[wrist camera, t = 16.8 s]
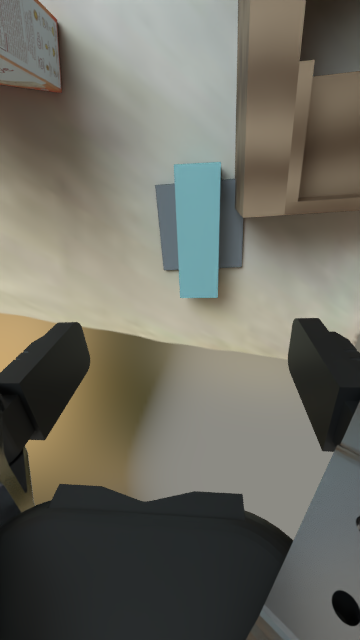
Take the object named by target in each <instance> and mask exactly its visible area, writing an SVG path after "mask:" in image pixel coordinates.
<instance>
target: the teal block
mask: <svg viewBox="0 0 360 640" xmlns="http://www.w3.org/2000/svg"><path fill="white" fill-rule="evenodd" d="M220 173H221V162H212V163H194V164H176V165H174V178H175V199H176V220H177V241H178V262H179V283H180V298H218V262H219V217H220Z"/></svg>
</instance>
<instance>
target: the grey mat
mask: <svg viewBox="0 0 360 640" xmlns="http://www.w3.org/2000/svg"><path fill="white" fill-rule="evenodd" d="M155 188H156V197H157V207H158V217H159V227H160V236H161V246H162V256H163V266H164V270H179V262H178V241H177V220H176V199H175V184H164V185H155ZM242 242H243V217H242V216H241V215H240V214H239V213H238V211H237V210H236V209H235V179H227V180H220V217H219V262H218V268H228V267H242Z"/></svg>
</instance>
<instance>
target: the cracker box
mask: <svg viewBox="0 0 360 640" xmlns="http://www.w3.org/2000/svg"><path fill="white" fill-rule="evenodd" d="M0 85H7V86H14V87H21V88H28V89H36V90H43V91H50V92H58V93H61V92H62V87H61V72H60V57H59V44H58V30H57V19H56V18H55V17H54V16H53V15H52V14H51V13H50V12H49V11H48V10H47V9H46V8H45V7H44V6H43V5H42V4H41V3H40V2H39V1H38V0H0Z"/></svg>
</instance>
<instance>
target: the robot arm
mask: <svg viewBox="0 0 360 640" xmlns="http://www.w3.org/2000/svg"><path fill="white" fill-rule="evenodd" d="M288 365H289V370H290V373H291V376H292V378H293V381H294V383H295V386H296V388H297V390H298V393H299V395H300V398H301V400H302V403H303V405H304V407H305V410H306V412H307V415H308V417H309V420H310V422H311V424H312V427H313V429H314V432H315V434H316V436H317V439H318V441H319V444H320V446H321V449H322V451H332V452H334V453H333V456H332V458H331V460H330V462H329V464H328V466H327V469H326V471H325V473H324V475H323V477H322V479H321V482H320V484H319V486H318V488H317V490H316V493H315V495H314V497H313V499H312V501H311V503H310V506H309V508H308V510H307V512H306V515H305V517H304V519H303V521H302V523H301V525H300V528H299V530H298V532H297V534H296V536H295V539H294V541H293V540H292V539H291V538H290V537H289V536H287V535H286V534H285V533H284V532H282V531H281V530H280V529H279V528H277V527H276V526H274V525H273V524H271V523H269V522H268V521H267V520H265V519H263V518H261V517H259V516H257V515H255V514H253V513H250V512H247V511H244V506H243V495H242V494H231V493H212V492H190V493H185V494H181V495H177V496H172V497H167V498H163V499H158V500H154V501H149V502H143V501H139V500H137V499H134V498H131V497H128V496H126V495H123V494H121V493H118V492H115V491H113V490H110V489H107V488H105V487H102V486H86V485H68V484H60V485H59V486H58V488H57V490H56V492H55V494H54V497H53V499H52V500H51V501H48V502H44V503H42V504H39V505H36V506H35V505H34V500H33V492H32V485H31V476H30V467H29V460H28V452H27V450H26V448H25V444H26V443H27V442H28V440H45V439H46V438H47V436H48V434H49V433H50V431H51V430H52V428H53V426H54V424H55V423H56V421H57V420H58V418H59V417H60V415H61V413H62V412H63V410H64V409H65V407H66V405H67V404H68V402H69V400H70V399H71V397H72V396H73V394H74V392H75V391H76V389H77V388H78V386H79V384H80V383H81V381H82V380H83V378H84V376H85V375H86V373H87V371H88V369H89V366H90V355H89V351H88V348H87V344H86V341H85V337H84V334H83V330H82V327H81V325H80V324H79V323H78V322H65V323H57V324H56V325H55V326H54V327H53V328H52V329H50V330H49V331H48V332H47V333H46V334H45V335H44V336H43V337H41V338H39V339H38V340H36V341H34V342H32V343H31V344H30V345H29V346H28V347H27V348H26V349H25V350H24V352H23V353H21V354H20V355H19V356H18V357H16V360H13V361H12V362H11V363H10V364H9V365H8V366H7V367H6V368H5V369H4V370H3V371H2V372H1V373H0V640H360V353H359V352H358V351H357V350H356V348H355V347H354V346H353V345H352V343H351V342H350V341H349V340H348V339H346V338H345V337H343V336H341V335H340V334H338V333H336V332H329V331H328V330H327V328H326V327H325V326H324V324H323V323H322V322H321V320H320V319H318V318H296V319H294V321H293V325H292V332H291V339H290V346H289V353H288Z"/></svg>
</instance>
